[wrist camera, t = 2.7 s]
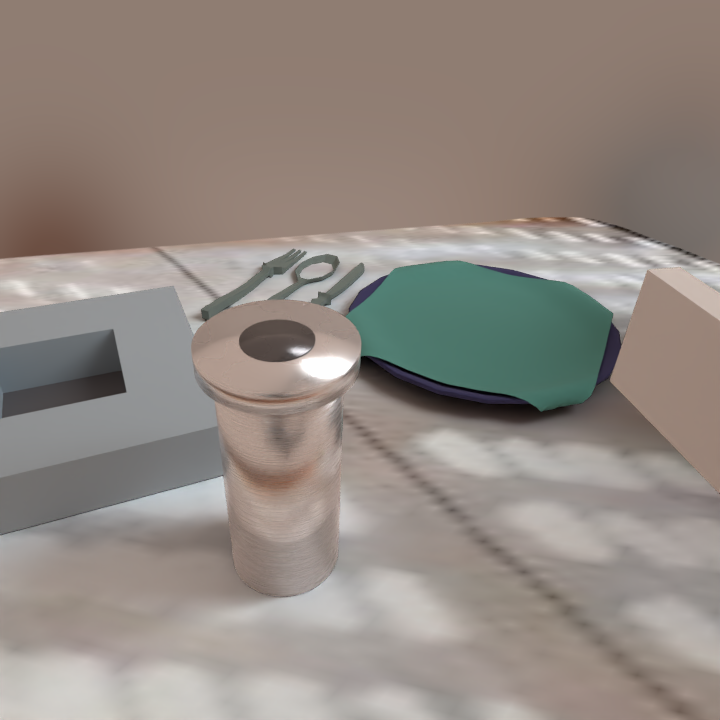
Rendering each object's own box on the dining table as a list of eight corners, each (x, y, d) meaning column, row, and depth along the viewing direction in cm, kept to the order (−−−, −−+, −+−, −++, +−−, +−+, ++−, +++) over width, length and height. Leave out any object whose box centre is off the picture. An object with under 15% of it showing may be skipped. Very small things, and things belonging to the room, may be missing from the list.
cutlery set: (597, 463, 36) (607, 433, 34) (179, 336, 46) (175, 309, 44) (627, 315, 51) (635, 290, 49) (309, 245, 61) (309, 222, 60)
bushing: (323, 488, 33) (325, 288, 26) (371, 581, 28) (390, 367, 21) (207, 522, 31) (176, 313, 24) (239, 629, 26) (212, 407, 19)
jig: (179, 328, 45) (173, 285, 43) (234, 472, 34) (229, 423, 32) (-72, 372, 40) (-92, 326, 38) (-114, 565, 28) (-147, 512, 26)
